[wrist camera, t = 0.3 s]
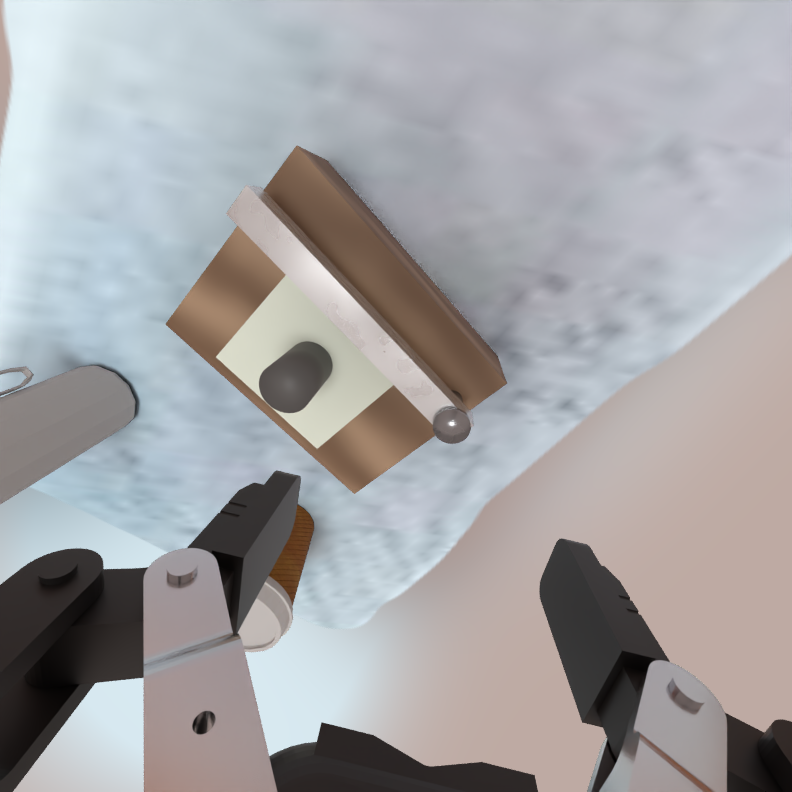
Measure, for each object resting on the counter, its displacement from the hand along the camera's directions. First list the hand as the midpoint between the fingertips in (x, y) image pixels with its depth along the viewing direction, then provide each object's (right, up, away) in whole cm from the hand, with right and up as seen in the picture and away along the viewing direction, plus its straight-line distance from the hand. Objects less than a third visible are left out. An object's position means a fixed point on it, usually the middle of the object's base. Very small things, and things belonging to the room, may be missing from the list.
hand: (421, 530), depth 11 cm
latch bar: (-3, +9, +13) cm, 16 cm away
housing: (-5, +10, +21) cm, 24 cm away
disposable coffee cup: (-13, -10, +32) cm, 36 cm away
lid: (-7, +7, +16) cm, 19 cm away
